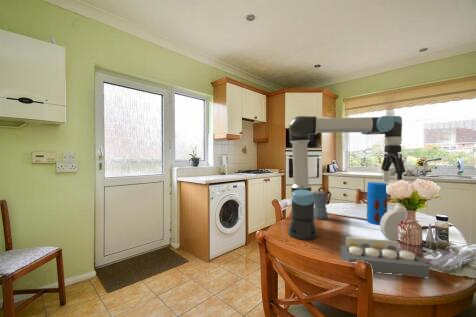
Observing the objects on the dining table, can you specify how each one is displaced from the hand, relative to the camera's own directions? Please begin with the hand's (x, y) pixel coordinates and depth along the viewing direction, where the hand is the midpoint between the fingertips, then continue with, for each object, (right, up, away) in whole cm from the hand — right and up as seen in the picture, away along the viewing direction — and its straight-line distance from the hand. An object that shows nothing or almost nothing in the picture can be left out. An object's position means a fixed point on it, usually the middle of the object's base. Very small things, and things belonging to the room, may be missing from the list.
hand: (391, 184), depth 119 cm
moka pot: (-27, -27, +30) cm, 49 cm away
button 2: (-31, -25, -33) cm, 52 cm away
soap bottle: (-1, -28, -7) cm, 29 cm away
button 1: (-37, -25, -32) cm, 55 cm away
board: (-28, -28, -34) cm, 52 cm away
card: (-27, -28, -25) cm, 46 cm away
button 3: (-26, -25, -35) cm, 50 cm away
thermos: (+4, -27, +20) cm, 34 cm away
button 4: (-20, -25, -36) cm, 48 cm away
